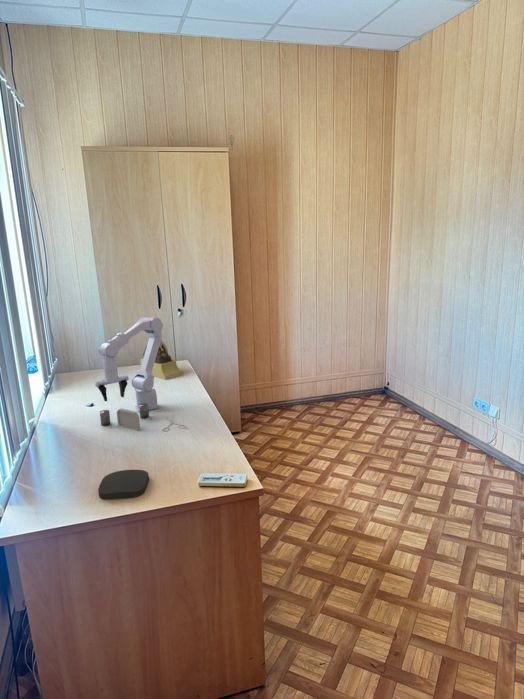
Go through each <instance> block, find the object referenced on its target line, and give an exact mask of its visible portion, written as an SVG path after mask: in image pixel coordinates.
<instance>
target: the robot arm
mask: <svg viewBox="0 0 524 699" xmlns="http://www.w3.org/2000/svg"><path fill="white" fill-rule="evenodd" d="M163 327H164V323H163V322H162V319H160V318H159V317H151V316H142V317H141V318H139V319H138V320H137V322H136V323H134V325H132V326H131V327H129V329H127V330H126V331H125V332H119V333H116V336H114V337H112V338H111V339H109V340H107V342H104V343H101V344H100V347H99V349H98V353H99V354H100V355H101V358H102V365H103V366H102V367H103V373H104V379H102V380H98V381H94V385H95V388H97V389H98V390H99V392H100V393H101V396H102V398H103V401H104V402H108V397H107V396H108V394H107V387H106V386H107V385H111V384H116V383H118V386H119V387H118V388H119V393H120V397H121V398H124V397H125V391H126V388H127V386H128V381H130V380H129V376H128V375H122V376H120V375H119V372H118V371H119V370H118V363H117V356H118V353H119V351H120V350H121V349H122V348H124V347H125V346H127V344H129V342H130V339H131V338H133V337H134V336H136V335H138V334H139V333H141V332H142V331H144V332H145V333H146V334H147V336H148V341H147V344H146V346H147V348H146V347H145V348H146V351H145V350H144V351H145V355H144V358H143V357H142V359H143V361H142V365H141V368H140V370H137V371H136V372H135V374H134V376H133V377H132V379H131V387H132V388H134V391H135V397H136V398H135V400H136V405H135V406H134V407H135V409H136V412H137V413H138V412H139V413H140V410H139V405H140V404H143V403H147V404H148V408H149V411H151V410H157V409H159V407H158V405H159V404H158V397H157V396H158V395H157V392H156V391H157V390H156V388H154V385H155V382H154V380H155V377H154V376H153V374H152V369H153V366H154V362H155V359H156V355H157V352H158V349H159V345H160V342H161V339H162V337H163V334H162V333H163V332H162V330H163Z"/></svg>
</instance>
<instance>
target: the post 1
mask: <svg viewBox="0 0 524 699" xmlns="http://www.w3.org/2000/svg"><path fill="white" fill-rule="evenodd" d="M110 415H111V414H110V410H108V409H102V410H100V411H99V419H100V425H101V426H102V427H108V426H110V425H111V424H112V422H111V416H110Z"/></svg>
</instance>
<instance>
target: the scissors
mask: <svg viewBox="0 0 524 699" xmlns="http://www.w3.org/2000/svg"><path fill="white" fill-rule="evenodd" d="M164 418H166V420H167V421H168V422H169V424H168V425H167V426H166V427H164V428H162V432H169V431H170V430H171V428H170V426H172V425H177V427H178V428H179V429H187V430H189V429H190V428H189V427H187V425H185V424H180V423H176V422H175V420H174V418H175V416H174V414H172V417H171V419H170V418H168V416H166V415H165V416H164Z"/></svg>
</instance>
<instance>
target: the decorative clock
mask: <svg viewBox="0 0 524 699" xmlns="http://www.w3.org/2000/svg"><path fill="white" fill-rule="evenodd" d="M146 348H147V345H146V346H145V349H144V351H143V355H142V358H140V359H139V360H140V365H139V366H138V370H140V368H141V365H142V361H143V358H144V355H145V351H146ZM168 352H169V350H168V347H167V345H166V344H165V342H163V340H162V338H161V342H160V345H159V349H158V352H157V355H156V359H155V362H154V366H153V369H152V374H153V376H154V378H158V379H161V380H163V381H167V380H170V379H174V378H177V377H178V378H179V377H181V376H184V371H182V369H180V368H179V367H178V365H177V360H174V359H172V357H171V355H170V354H169V353H168ZM138 370H137V371H138Z"/></svg>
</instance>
